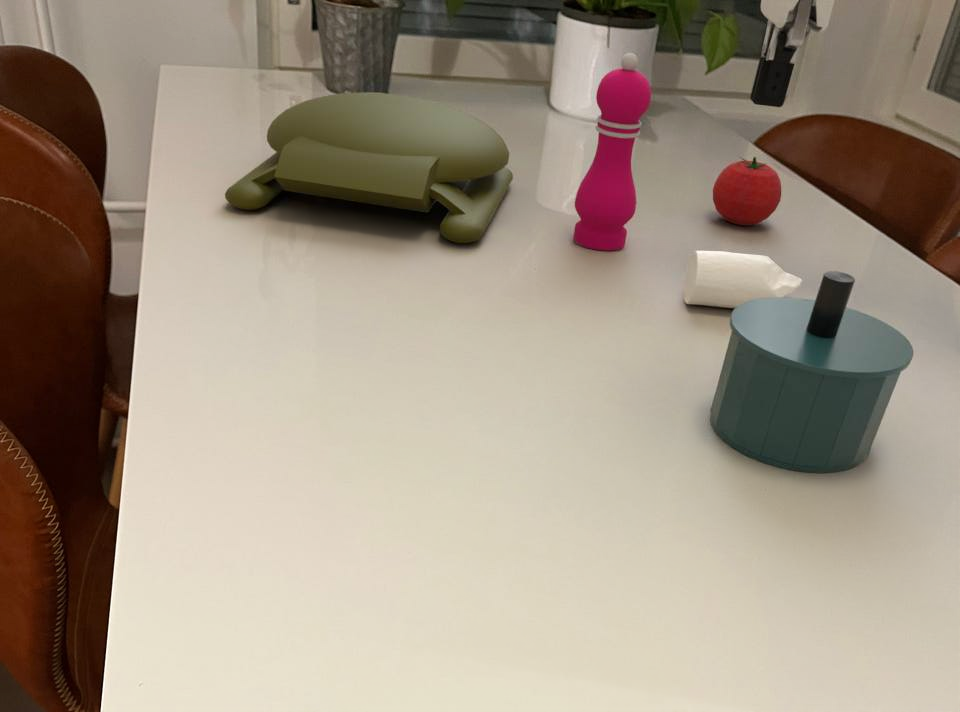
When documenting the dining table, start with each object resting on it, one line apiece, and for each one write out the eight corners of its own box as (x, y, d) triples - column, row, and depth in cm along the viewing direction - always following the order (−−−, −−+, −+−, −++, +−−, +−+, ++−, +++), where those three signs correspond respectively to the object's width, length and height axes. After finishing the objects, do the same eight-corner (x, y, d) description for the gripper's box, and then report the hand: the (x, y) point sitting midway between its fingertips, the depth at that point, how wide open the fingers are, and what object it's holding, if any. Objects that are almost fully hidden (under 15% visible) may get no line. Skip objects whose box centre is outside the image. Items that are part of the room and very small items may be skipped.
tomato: (700, 224, 128) (716, 158, 123) (712, 206, 135) (727, 143, 130) (767, 238, 126) (786, 171, 121) (776, 219, 133) (794, 156, 128)
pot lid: (877, 318, 86) (901, 253, 82) (934, 394, 75) (964, 323, 71) (713, 302, 85) (730, 235, 82) (746, 376, 74) (767, 303, 71)
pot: (843, 402, 91) (876, 313, 85) (888, 479, 80) (928, 383, 75) (698, 389, 90) (722, 297, 85) (725, 464, 80) (753, 366, 74)
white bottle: (799, 324, 104) (815, 272, 101) (687, 312, 104) (700, 259, 101) (787, 303, 109) (803, 252, 105) (681, 291, 109) (692, 239, 105)
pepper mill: (619, 233, 122) (652, 48, 109) (635, 253, 117) (673, 62, 104) (563, 230, 121) (590, 43, 108) (577, 251, 116) (607, 57, 103)
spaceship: (478, 251, 112) (486, 159, 106) (218, 210, 114) (212, 118, 108) (520, 171, 139) (529, 94, 133) (309, 140, 141) (308, 62, 135)
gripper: (888, -107, 85) (818, 126, 96) (842, -118, 96) (785, 92, 108) (803, -119, 84) (744, 117, 96) (767, -128, 96) (718, 84, 107)
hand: (765, 103), depth 102 cm, fingers closed
